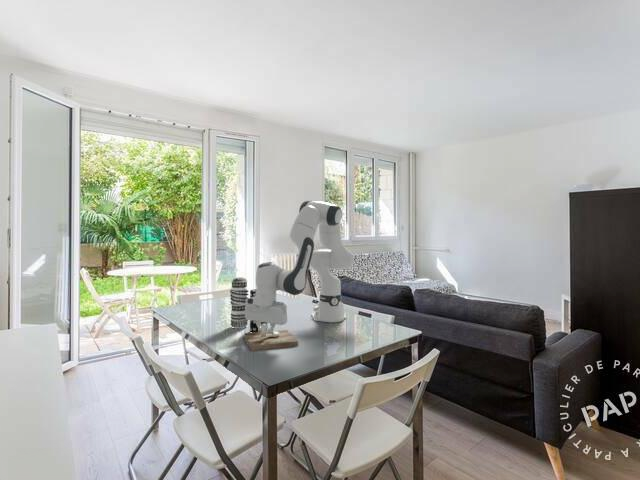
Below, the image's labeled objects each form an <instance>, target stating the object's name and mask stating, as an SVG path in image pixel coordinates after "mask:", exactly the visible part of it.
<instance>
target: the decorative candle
mask: <svg viewBox="0 0 640 480" xmlns="http://www.w3.org/2000/svg"><path fill="white" fill-rule="evenodd" d="M230 289H231V290H229V293H230V295H229V296H230V298H229V299H230V305H231V310H230V311H231V313H230V327H231V326H232V327H234V328H244V329H246V328H245V327H247V326H248V325H249V324H248V321H249V320H246V318H245V306H246V304H247V303H246V299H248V298H249V297H247V296H249V293H250V290H248V280H247V279H246V278H245V277H242V276H241V277H234V278H233V279H232V280H231V287H230ZM247 328H248V327H247Z"/></svg>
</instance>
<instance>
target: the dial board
mask: <svg viewBox="0 0 640 480" xmlns="http://www.w3.org/2000/svg"><path fill="white" fill-rule="evenodd" d="M273 332H279V336H278V337H267V338H261V332H252V333H250V332H244V333H243V336H244V337H245V338H244V340H245V339H246V340H245V342H246V341H247V342H246V344H247V343H248V344H247V346H248V348H249V350H250V351H251V350H253V351H260V350H259V349H263V350H270V349H271V348H272V349H280V348H290V347H298V346H299V340H297V339H296V337H295V336H294V335H293V334H292V333H291V332H290V331H289V330H288V329H277V330H273ZM266 334H269V333H268V330H267V331H266Z"/></svg>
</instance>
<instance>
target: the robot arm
mask: <svg viewBox="0 0 640 480" xmlns="http://www.w3.org/2000/svg"><path fill="white" fill-rule="evenodd" d="M298 209H299V211H298V214H297V216H296V217H295V220H294V222H293V224H292V227H291V230H290V233H289V237H290V239H291V242H292V243H293V244H294V245H295V246H296V247H297V249H298V253H297V257H296V261H295V265H294V267H293V269H291V270H290V269H285V268H282V267H280V266H278V265H277V264H276V263H275V262H272V261H271V262H261V263H260V264H259V265H258V266H257V268H256V273H255V274H256V275H255V286H256V289H257V290H256V296H253V297H251V298H250V297H247V298H248V299H246V303H247V304H246V306H245V318H246V320H248V321H250V320H253V321H256V325H257V327H258V331H259V332H261V322H265V323H267V324H269V326H270V328H267V331H268V333H270V334H272V333H273V331H274V328H275V327H276V325H280V326H283V325H285V324H287V323H288V312H287V309H288V307H287V305H286V304H285V303H284V302H282V301H277V291H281V292H283V293H284V292H285V293H287V294H289V295H292V296H298V295H300V294H302V292H303V291H304V290H305V289H306V287H307V283H308V273H309V269H310V267H311V269H313V270H314V271H315V272H316V274H317V275H318V277H319V282H320V295H319V299H318V300H319V301H318V302H317V303H316V305H315V306H314V307H313V312H311V317H312V319H313V321H315V322H323V323H339V322H343V321H344V320H345V319H347V316H346V315H345V311H344V310H345V309H344V307H345V306H344V303H343V302H342V293H341V292H342V291H341V289H342V288H341V286H342V285H341V282H342V281H341V279H340V278H339V277H338V276H336V275H334V274H332V273H331V270H341V271H342V270H348V269H352V267H353V266H354V264H355V256H354V254H353V252H352V251H351V250H349V249H348V248H346V246H345V245H344V243H343V242H342V238H341V225H340V222H341V220H342V217H343V212H342V211H343V210H342V209H341V207H340V206H339V205H337V204H334V203H332V204H331V203H329V202H325V201H316V200H315V201H313V200H305V201H303V202H302V203H301V204H300V206H299V208H298ZM317 230H318V232H319V242H320V243H321V244H322V246H323V247H325V248H327V249H315V250H314V247H315V242H314V238H315V236H316V232H317Z"/></svg>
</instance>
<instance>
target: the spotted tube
mask: <svg viewBox="0 0 640 480" xmlns="http://www.w3.org/2000/svg"><path fill="white" fill-rule="evenodd" d="M256 290H257V288H256V289H251V290H249V298H251V297H253V296H256ZM261 324H266V331H268V323H265V322H261ZM250 332H259V331H258V327H257V325H256V321H253V320H249V333H250Z"/></svg>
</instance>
